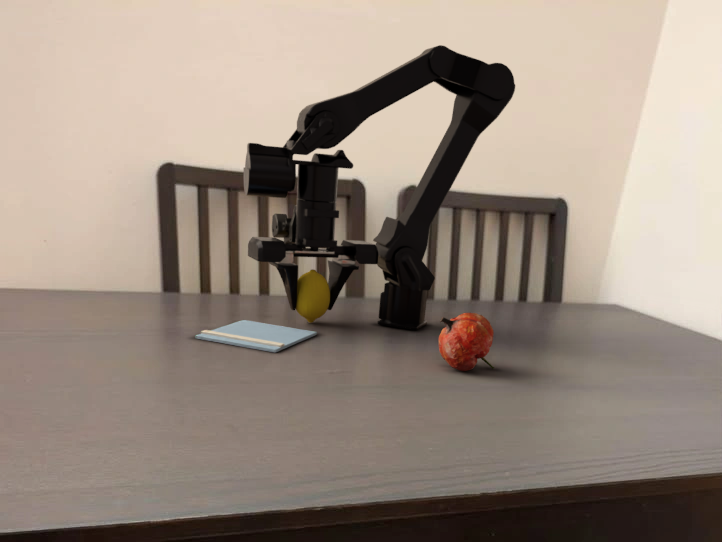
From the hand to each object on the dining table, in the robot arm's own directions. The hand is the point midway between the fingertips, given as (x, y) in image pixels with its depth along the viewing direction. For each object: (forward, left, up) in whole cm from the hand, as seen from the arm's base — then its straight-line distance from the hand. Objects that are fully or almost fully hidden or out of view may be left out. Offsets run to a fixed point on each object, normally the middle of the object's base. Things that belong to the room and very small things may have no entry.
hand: (311, 309), depth 111 cm
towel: (+2, +13, -2) cm, 13 cm away
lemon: (0, 0, -2) cm, 2 cm away
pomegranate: (-27, +11, -2) cm, 29 cm away
